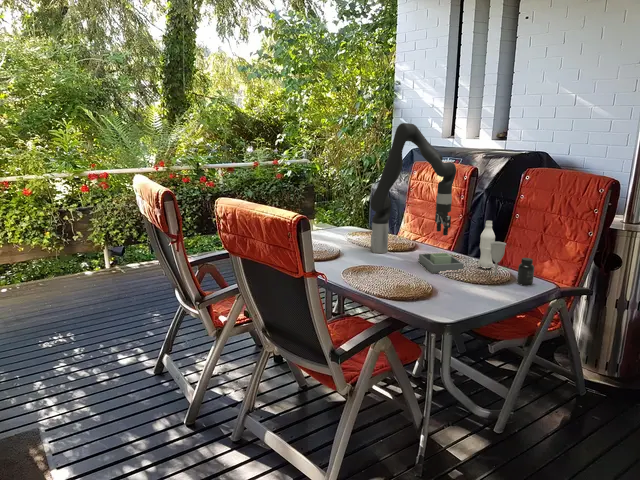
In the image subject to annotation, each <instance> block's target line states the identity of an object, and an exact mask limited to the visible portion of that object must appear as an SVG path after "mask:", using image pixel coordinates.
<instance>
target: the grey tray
mask: <svg viewBox="0 0 640 480" xmlns="http://www.w3.org/2000/svg"><path fill="white" fill-rule="evenodd" d="M435 253H436V252H435ZM435 253H419V254H418V263H419V264H420V263H421V264H420V265H421V266H423V267H424V266H425V267H426V268H425V267H424V268H425V269H427V271H429V272H430V273H431V274H433V275H434V274H436V273H437V274H439V273H438V272H440V271H446V270H458V269H463V270H464V263H463V261H460V260H459V259H458V258H457V257H455V256H453V255H452V254H450V253H448V252H447V253H448V254H449V255H451V264H433V263H432V262H431V261H430V254H435Z"/></svg>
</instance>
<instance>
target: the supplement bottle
mask: <svg viewBox="0 0 640 480" xmlns="http://www.w3.org/2000/svg"><path fill="white" fill-rule="evenodd" d="M533 261H534V260H533V258H529V257H522V258H521V263H519V264H518V269H517V279H516V283H517V282H518V283H519V284H518V283H517V284H518V285H520V284H522V285H521V286H524V285H530V286H533V284H534V283H533V282H534V274H535V265H534V264H533V263H534V262H533Z"/></svg>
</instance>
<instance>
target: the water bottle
mask: <svg viewBox="0 0 640 480" xmlns="http://www.w3.org/2000/svg"><path fill="white" fill-rule="evenodd" d="M479 237H480V238H479V239H480V241H479V242H480V243H479V249H480V257H479V259H478V262H477V263H478V267H479V266H482V267H492V268H493V264H494V263H493V262H494V261H493V259H492V256H491V253H490V252H491V244H490V242H496V235H495V232H494V230H493V220H486V221H485V227H484V229H483V231H482V232H481V234H480V236H479Z"/></svg>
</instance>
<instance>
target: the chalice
mask: <svg viewBox="0 0 640 480" xmlns="http://www.w3.org/2000/svg"><path fill="white" fill-rule="evenodd" d="M490 244H491V252H490V253H491V256H492V262H494V263H495V264H494V268H493V270H494V271H493V272H494V273H492V274H491V275H494V276H495V275H496V276H497V274H498V267H499V265H498V263H500V262H501V260H502V259H503V257H504V256H505V250H506V246H507V243H506V242H502V241H495V242H490Z"/></svg>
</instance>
